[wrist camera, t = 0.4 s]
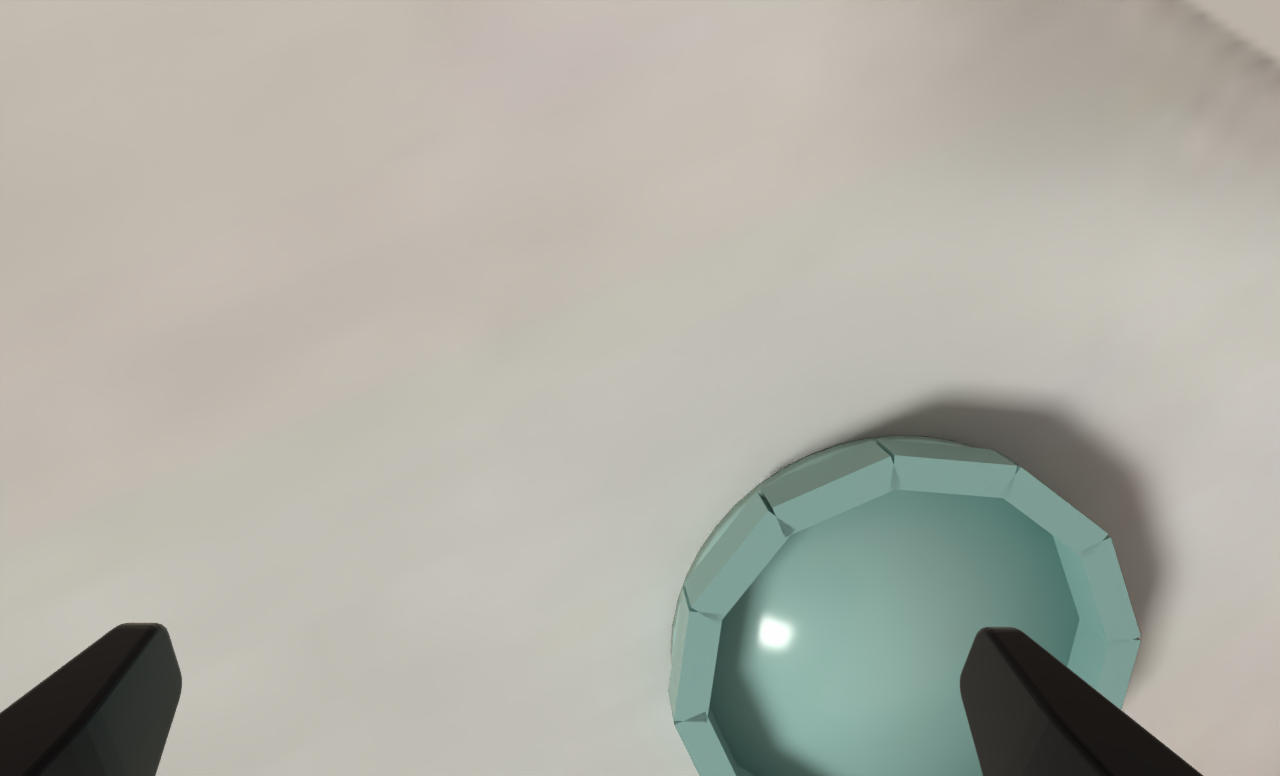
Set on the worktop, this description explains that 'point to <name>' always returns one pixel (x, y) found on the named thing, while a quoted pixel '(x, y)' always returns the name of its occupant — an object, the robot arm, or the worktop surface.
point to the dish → (882, 609)
